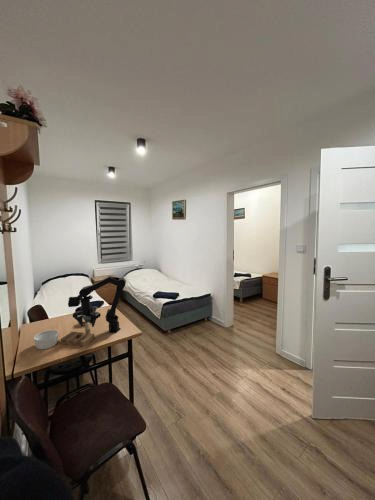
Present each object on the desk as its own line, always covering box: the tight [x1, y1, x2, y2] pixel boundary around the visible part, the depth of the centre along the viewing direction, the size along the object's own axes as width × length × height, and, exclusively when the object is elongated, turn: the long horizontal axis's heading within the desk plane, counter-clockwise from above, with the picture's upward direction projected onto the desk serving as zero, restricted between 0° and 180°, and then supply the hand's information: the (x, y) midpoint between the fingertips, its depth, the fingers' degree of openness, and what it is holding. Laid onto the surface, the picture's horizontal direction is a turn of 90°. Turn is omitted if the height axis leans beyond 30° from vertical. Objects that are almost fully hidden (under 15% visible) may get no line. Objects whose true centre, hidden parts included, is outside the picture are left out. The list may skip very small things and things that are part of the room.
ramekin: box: [33, 329, 59, 350], centre depth 134 cm, size 13×13×7 cm
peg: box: [84, 322, 91, 334], centre depth 147 cm, size 3×3×8 cm
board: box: [59, 331, 95, 348], centre depth 138 cm, size 18×10×3 cm, turn 77°
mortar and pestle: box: [83, 306, 98, 324], centre depth 165 cm, size 11×9×12 cm
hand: (87, 326), depth 147 cm, fingers open, 9 cm apart
